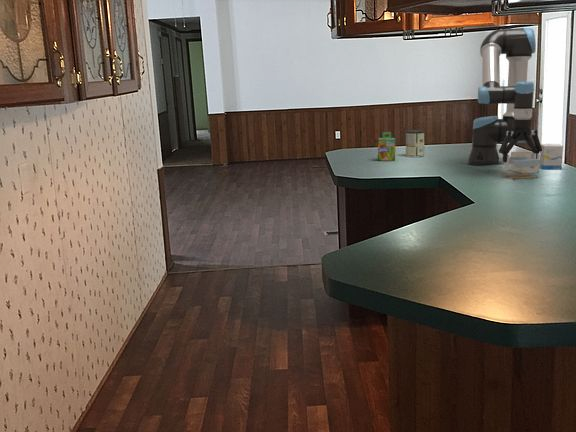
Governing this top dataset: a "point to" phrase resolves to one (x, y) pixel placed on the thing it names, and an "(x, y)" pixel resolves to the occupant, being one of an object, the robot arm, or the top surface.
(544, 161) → the ink box
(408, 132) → the cream miniature cabinet
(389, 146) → the chalk box
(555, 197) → the top surface
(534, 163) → the lid
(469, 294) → the top surface
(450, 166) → the top surface
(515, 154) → the crate
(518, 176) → the mat
